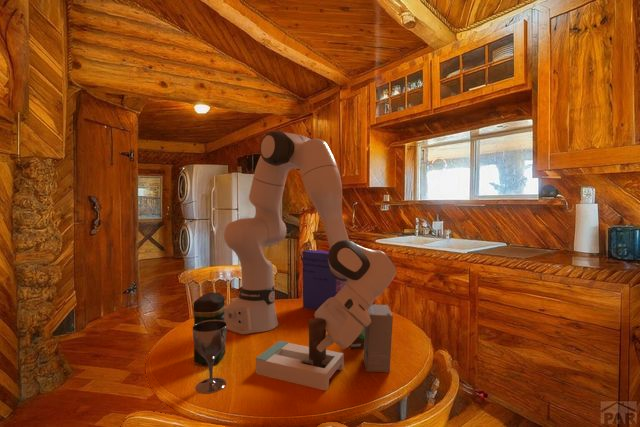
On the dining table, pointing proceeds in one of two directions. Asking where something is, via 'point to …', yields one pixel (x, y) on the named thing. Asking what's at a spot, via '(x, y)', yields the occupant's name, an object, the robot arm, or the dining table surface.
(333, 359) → the keyhole plate
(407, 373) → the dining table surface
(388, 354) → the skincare box
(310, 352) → the knob post
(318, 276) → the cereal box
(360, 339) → the food container
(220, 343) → the wine glass
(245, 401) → the dining table surface
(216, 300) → the coffee jar
